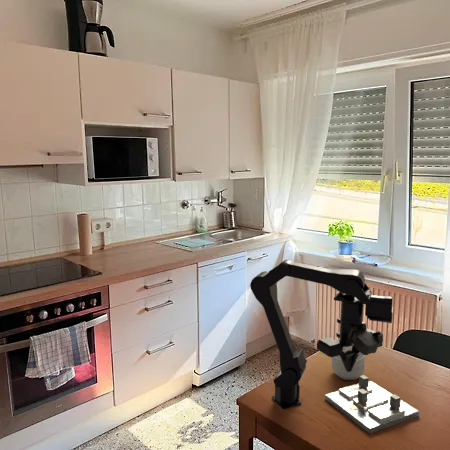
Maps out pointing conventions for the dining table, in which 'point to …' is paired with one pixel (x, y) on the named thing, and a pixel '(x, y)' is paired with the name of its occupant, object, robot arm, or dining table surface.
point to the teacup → (341, 371)
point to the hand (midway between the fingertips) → (348, 371)
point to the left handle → (363, 381)
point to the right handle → (395, 401)
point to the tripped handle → (362, 396)
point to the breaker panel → (370, 407)
